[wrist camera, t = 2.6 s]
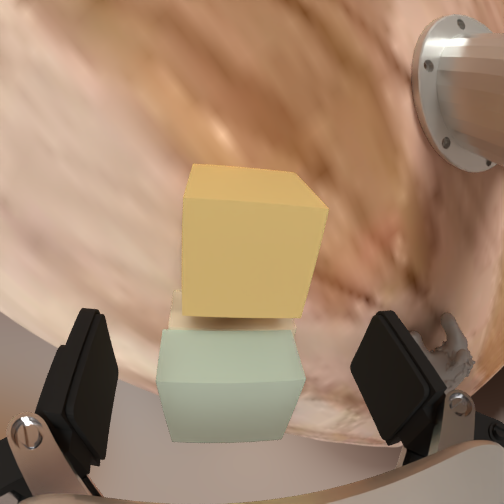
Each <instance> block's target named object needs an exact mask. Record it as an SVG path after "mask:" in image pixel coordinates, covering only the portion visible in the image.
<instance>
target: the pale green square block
mask: <svg viewBox="0 0 504 504" xmlns="http://www.w3.org/2000/svg"><path fill="white" fill-rule="evenodd" d="M305 381H306V377H305V374H304V371H303V367H302V364H301V361H300V357H299V354H298V351H297V347H296V344H295V341H294V338H293V334H292V331H291V330H270V331H197V330H167V329H163V332H162V338H161V345H160V352H159V359H158V367H157V375H156V384H157V389H158V393H159V397H160V400H161V404H162V408H163V412H164V415H165V419H166V423H167V426H168V429H169V432H170V436H171V440H172V442H186V443H234V442H255V441H269V440H279V439H282V437H283V435H284V432H285V430H286V428H287V425H288V423H289V421H290V418H291V416H292V413H293V411H294V409H295V406H296V404H297V401H298V399H299V396H300V394H301V391H302V388H303V386H304V383H305Z"/></svg>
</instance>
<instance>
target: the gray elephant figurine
mask: <svg viewBox="0 0 504 504" xmlns="http://www.w3.org/2000/svg"><path fill="white" fill-rule="evenodd" d="M441 325H442V327H443V328H444V330H445V332H446V335H447V341H446V342H444V341H443V342H442V346H440V347H438V348H436V350H435V351H433V350H431V351H430V352H429V351H428V350H427V348H426V347H425V346H424V344H423V342H422V337H421V336H420V334H419V333H418V332H416V331H411V332H410V334H411V335H412V337H413V338H414V340H415V341H416V342H417V344H418V345H419V347H420V348H421V350H422V351H423V352H424V354H425V355H426V357H427V358H428V360H429V361H430V363H431V364H432V366H433V367H434V368H435V370H436V371H437V373H438V374H439V376H440V377H441V379H442V380H443V382H444V384H445V385H446V387H447V389H446V390H445V392H444V393H445V394H446V395H447V393H448V392H449V391H451V390H454V389H455V388H456V387H457V386H458V385H459V384H460V383H461V382H462V381H463V379H464V378H465V377H468V376H469V373H470V370H471V369H472V367H473V364H475V361H473V360H472V356H471V355H470V351H469V350H468V348H467V346H468V344H467V339H466V337H465V336H464V335H463V333H462V331H461V330H460V328H459V326H458V324H457V322H456V320H455V318H454V317H453V315H452V314H450V313H444V314H443V315H442V316H441Z"/></svg>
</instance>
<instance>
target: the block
mask: <svg viewBox="0 0 504 504" xmlns="http://www.w3.org/2000/svg"><path fill="white" fill-rule="evenodd" d="M328 212H329V208H328V207H327V206H326V205H325V204H324V203H323V202H322V201H321V200H320V199H319V197H318V196H317V195H316V194H315V193H314V192H313V191H312V190H311V189H310V188H309V187H308V186H307V185H306V184H305V183H304V182H303V180H302V179H301V178H300V177H299V176H298V175H297V174H296V173H293V172H285V171H276V170H266V169H256V168H245V167H233V166H220V165H205V164H193V166H192V169H191V173H190V176H189V179H188V183H187V186H186V190H185V193H184V197H183V218H182V316H200V317H229V318H301V315H302V312H303V308H304V305H305V301H306V298H307V294H308V290H309V287H310V283H311V279H312V276H313V272H314V268H315V264H316V261H317V257H318V253H319V249H320V245H321V241H322V237H323V233H324V229H325V225H326V220H327V216H328Z"/></svg>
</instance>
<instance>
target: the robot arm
mask: <svg viewBox="0 0 504 504" xmlns="http://www.w3.org/2000/svg"><path fill="white" fill-rule="evenodd" d="M411 83H412V91H413V100H414V104H415V107H416V112H417V116H418V118H419V121H420V124H421V126H422V129H423V131H424V133H425V135H426V137H427V139H428V140H429V142H430V144H431V146H432V147H433V148H434V149H435V151H436V152H437V153H438V154H439V156H441V157H442V158H443V159H444V160H445V161H446V162H448V163H449V164H451V165H453V166H455V167H457V168H459V169H461V170H464V171H467V172H473V173H479V172H483V171H487V170H489V169H490V168H492V167H494V166H495V165H496V164H498V165H500V166H502V167H504V33H493V32H491V31H490V30H489V29H488V28H487V27H486V26H485V25H484V24H482V23H480V22H479V21H477V20H476V19H474V18H471V17H468V16H466V15H457V14H453V15H446V16H442V17H439V18H437V19H435V20H433V21H432V22H431V23H429V24H428V25H427V26H426V27H425V28H424V30H423V31H422V33H421V35H420V36H419V38H418V41H417V44H416V46H415V49H414V54H413V60H412V77H411ZM350 369H351V373H352V375H353V377H354V379H355V381H356V383H357V385H358V388H359V390H360V392H361V394H362V396H363V398H364V400H365V403H366V405H367V407H368V409H369V411H370V414H371V416H372V418H373V420H374V422H375V425H376V427H377V429H378V431H379V433H380V436H381V438H382V439H383V440H386V443H387V445H388V446H389V445H392V444H395V443H398V442H400V441H402V443H403V447H402V450H401V453H400V457H399V460H398V463H397V466H396V469H394V470H391V471H388V472H386V473H383V474H380V475H377V476H374V477H371V478H367V479H364V480H361V481H357V482H354V483H350V484H347V485H343V486H339V487H335V488H331V489H327V490H323V491H318V492H313V493H309V494H304V495H298V496H292V497H286V498H280V499H272V500H264V501H254V502H243V503H230V504H504V424H503V423H502V422H500V421H498V420H496V419H493V418H491V417H488V416H486V415H483V414H481V413H479V412H476V411H475V405H474V402H473V400H472V399H471V397H470V396H469V395H468V394H467V393H465V392H463V391H461V390H451V391H449V392H448V393H447V395H446V394H445V393H444V392H445V390H446V389H447V387H446V385H445V384H444V382H443V380H442V379H441V377H440V376H439V374H438V373H437V371H436V370H435V368H434V367H433V366H432V364H431V363H430V361H429V360H428V358H427V357H426V355H425V354H424V352H423V351H422V350H421V348H420V347H419V345H418V344H417V342H416V341H415V340H414V338H413V337H412V335H411V334H410V333H409V331H408V330H407V329H406V327H405V326H404V324H403V323H402V322H401V320H400V319H399V318H398V316H397V315H396V314H395V312H394V311H391V310H390V311H379V312H377V313H376V315H375V316H373V318H372V319H371V322H370V324H369V326H368V329H367V331H366V333H365V335H364V337H363V340H362V342H361V344H360V346H359V348H358V350H357V352H356V354H355V356H354V358H353V360H352V363H351V366H350ZM117 380H118V366H117V363H116V359H115V355H114V352H113V348H112V344H111V340H110V336H109V332H108V328H107V323H106V319H105V316H104V314H100V312H99V310H97V309H87V308H82V309H81V310H80V312H79V314H78V316H77V319H76V321H75V323H74V326H73V328H72V330H71V333H70V335H69V337H68V340H67V342H66V345H61V346H60V347H59V348H58V350H57V352H56V355H55V357H54V360H53V362H52V365H51V368H50V370H49V373H48V375H47V378H46V381H45V384H44V387H43V389H42V392H41V395H40V398H39V402H38V404H37V407H36V411H35V413H32V412H23V413H19V414H18V415H16V416H15V417H13V418H12V420H11V421H10V422H9V424H8V427H7V437H6V438H4V439H2V440H0V504H167V503H150V502H140V501H130V500H122V499H114V498H106V497H104V496H103V495H102V493H101V492H100V491H99V490H98V488H97V487H96V485H95V484H94V483H93V481H92V480H91V478H90V477H89V475H88V474H89V473H90V465H94V466H100V459H101V460H104V459H105V457H106V449H107V441H108V434H109V427H110V420H111V414H112V408H113V402H114V396H115V391H116V386H117Z"/></svg>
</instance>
